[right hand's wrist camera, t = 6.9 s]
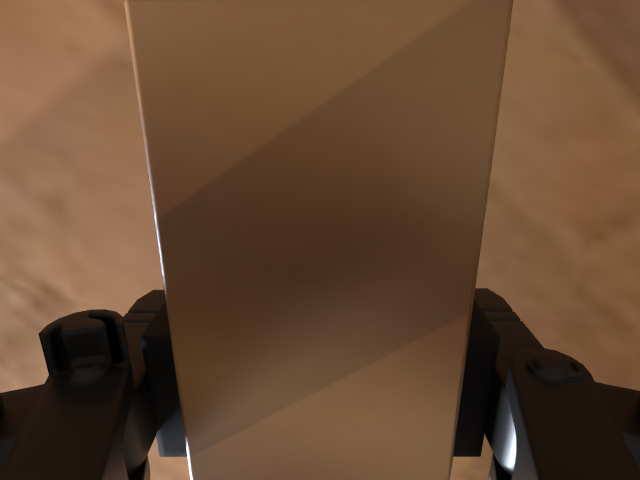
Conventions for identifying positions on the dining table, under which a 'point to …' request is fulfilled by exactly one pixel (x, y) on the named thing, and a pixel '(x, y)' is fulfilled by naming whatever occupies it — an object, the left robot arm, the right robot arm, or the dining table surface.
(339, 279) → the post
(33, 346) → the dining table surface
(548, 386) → the right robot arm
